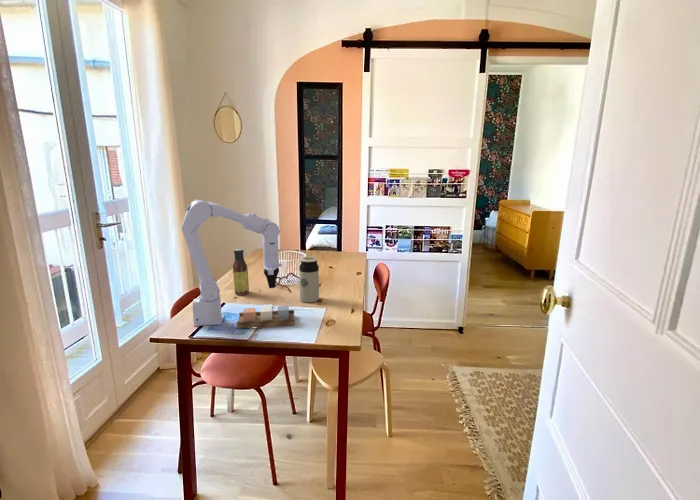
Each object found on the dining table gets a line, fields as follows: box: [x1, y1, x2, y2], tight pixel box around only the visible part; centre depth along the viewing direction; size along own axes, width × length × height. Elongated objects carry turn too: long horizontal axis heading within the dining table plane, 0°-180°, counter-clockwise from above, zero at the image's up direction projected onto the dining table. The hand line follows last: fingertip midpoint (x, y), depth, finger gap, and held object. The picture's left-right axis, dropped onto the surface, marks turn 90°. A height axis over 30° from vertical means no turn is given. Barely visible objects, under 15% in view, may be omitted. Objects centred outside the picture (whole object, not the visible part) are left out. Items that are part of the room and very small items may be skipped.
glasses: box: [275, 272, 300, 293], centre depth 183 cm, size 13×13×5 cm
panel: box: [236, 309, 296, 330], centre depth 143 cm, size 20×9×2 cm, turn 100°
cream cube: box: [259, 306, 273, 320], centre depth 142 cm, size 4×4×4 cm
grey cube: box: [276, 305, 290, 319], centre depth 143 cm, size 4×4×4 cm
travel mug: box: [298, 256, 320, 304], centre depth 164 cm, size 8×8×18 cm
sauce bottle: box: [232, 248, 250, 296], centre depth 170 cm, size 6×6×20 cm
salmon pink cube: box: [243, 307, 257, 321], centre depth 141 cm, size 4×4×4 cm
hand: (272, 287), depth 151 cm, fingers closed
